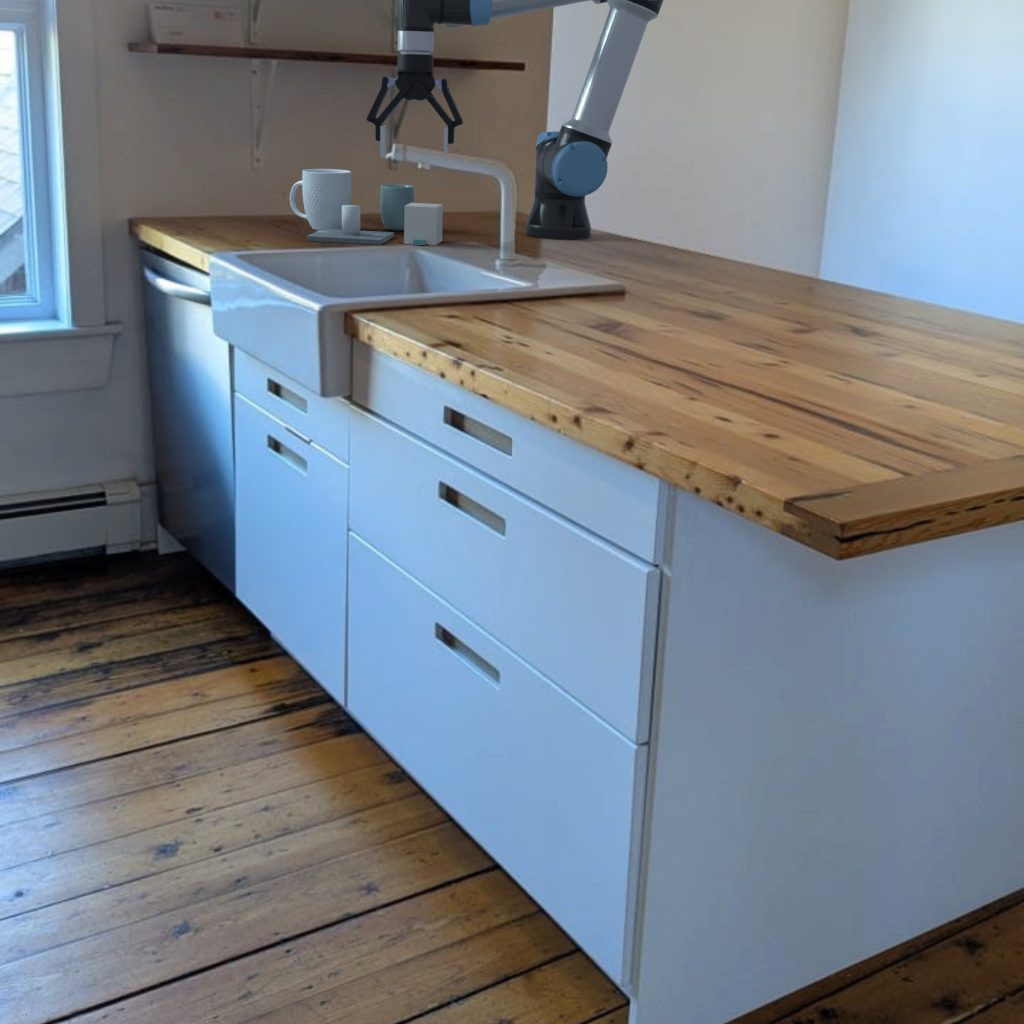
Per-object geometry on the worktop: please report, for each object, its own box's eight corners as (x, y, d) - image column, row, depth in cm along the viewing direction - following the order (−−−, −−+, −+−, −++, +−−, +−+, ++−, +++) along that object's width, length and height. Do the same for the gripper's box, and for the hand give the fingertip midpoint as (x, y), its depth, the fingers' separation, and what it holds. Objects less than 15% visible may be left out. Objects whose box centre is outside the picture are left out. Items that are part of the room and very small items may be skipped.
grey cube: (443, 240, 290) (443, 203, 287) (434, 246, 280) (435, 208, 278) (411, 239, 291) (412, 202, 288) (402, 244, 281) (403, 206, 279)
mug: (279, 228, 299) (277, 169, 295) (302, 224, 309) (301, 166, 305) (338, 233, 295) (337, 173, 290) (359, 229, 304) (359, 170, 300)
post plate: (393, 236, 293) (394, 204, 291) (379, 244, 280) (380, 211, 278) (323, 233, 295) (323, 201, 292) (306, 240, 282) (306, 207, 279)
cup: (375, 230, 303) (375, 185, 300) (388, 227, 310) (388, 183, 307) (406, 232, 301) (407, 188, 298) (418, 229, 308) (419, 185, 305)
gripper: (476, 55, 277) (474, 159, 284) (359, 51, 279) (360, 155, 286) (473, 55, 270) (470, 162, 277) (352, 51, 272) (353, 157, 279)
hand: (414, 158), depth 281 cm, fingers open, 13 cm apart
